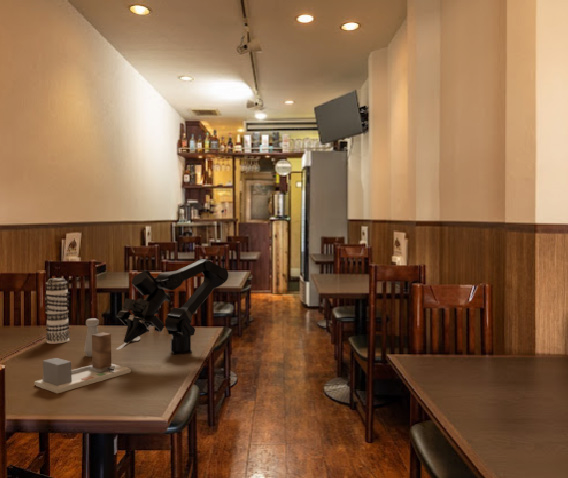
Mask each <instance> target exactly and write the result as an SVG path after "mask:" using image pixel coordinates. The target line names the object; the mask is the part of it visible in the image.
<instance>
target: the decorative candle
mask: <svg viewBox="0 0 568 478" xmlns="http://www.w3.org/2000/svg"><path fill="white" fill-rule="evenodd" d="M45 284H46V290H45V291H46V292H45V297H44V304H45V307H44V310H45V314H46V324H45V327H46V329H45V331H46V334H45V336H46V338H45V340H46V344H51V345H52V344H54V345H55V344H63V343H67V342H70V332H71V331H69V329H70V326H69V325H70V322H69V317H68V316H69V314H68V313H70V312H69V309H68V307H70V304H69V303H70V301H69V300H68V299H69V298H71V296H70V295H69V294H70V293H71V292H70V291H68V281H67V280H66V279H65V278H63V277H54V278H49V279H48V280H47V282H45Z"/></svg>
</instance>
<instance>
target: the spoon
mask: <svg viewBox="0 0 568 478" xmlns="http://www.w3.org/2000/svg"><path fill="white" fill-rule="evenodd" d="M140 340H141V336H138V337H137V338H135V339H133V340H132V341H131V342H135V343H136V342H138V341H140ZM127 344H128V343H125V342H123V343H122V344H121V345H119V346H118V347H116V349H115V350H118V351H119V350H121V349H123V348H124V347H125V346H126V345H127Z"/></svg>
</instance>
